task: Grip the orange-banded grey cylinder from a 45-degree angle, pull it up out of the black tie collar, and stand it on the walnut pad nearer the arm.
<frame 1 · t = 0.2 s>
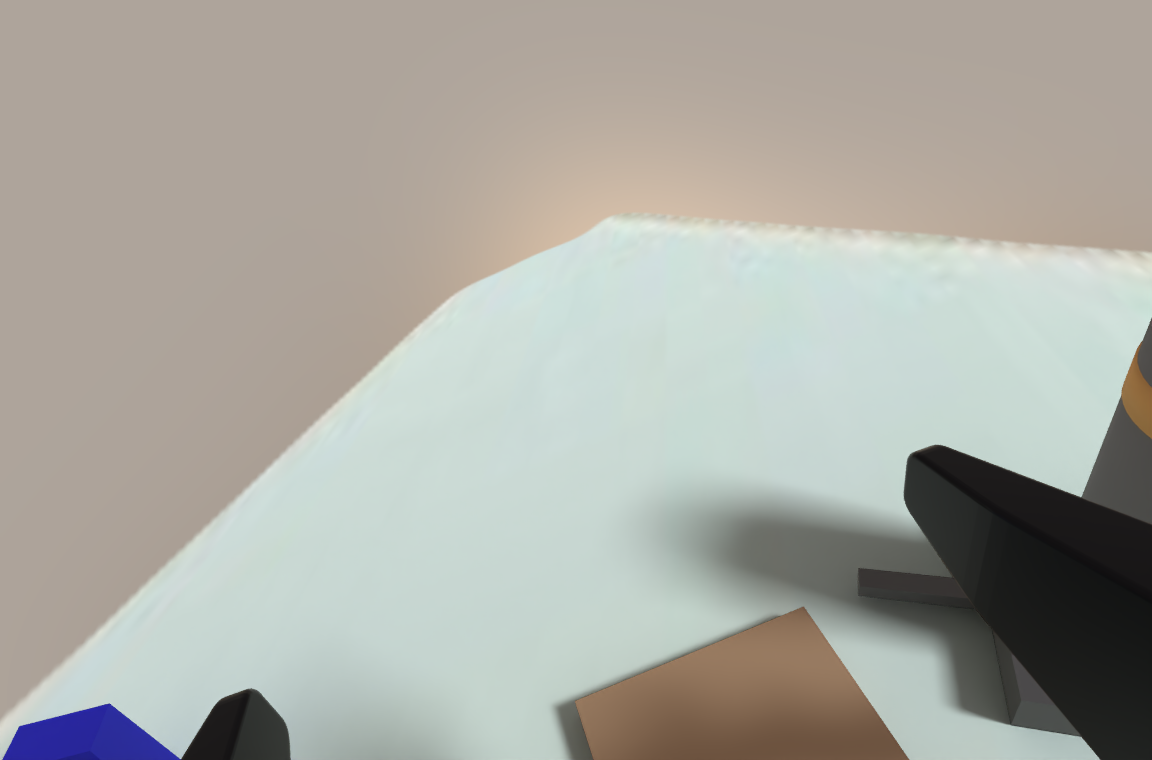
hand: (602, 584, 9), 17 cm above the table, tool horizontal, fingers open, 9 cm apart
orange-banded grey cylinder: (1125, 627, 23), resting in tie collar
tie collar: (1125, 626, 23), on the table
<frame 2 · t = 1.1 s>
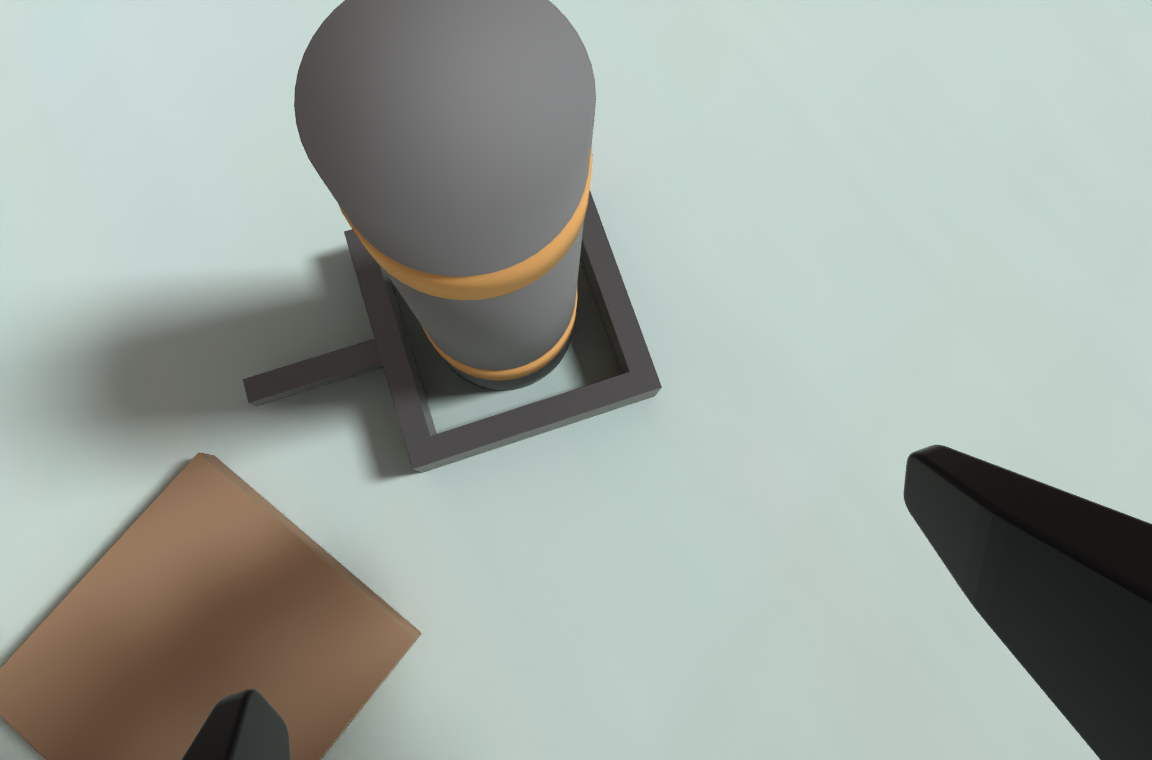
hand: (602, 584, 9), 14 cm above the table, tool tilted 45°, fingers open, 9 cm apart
orange-banded grey cylinder: (503, 322, 24), resting in tie collar
tie collar: (503, 322, 24), on the table
walnut pad: (216, 659, 21), on the table
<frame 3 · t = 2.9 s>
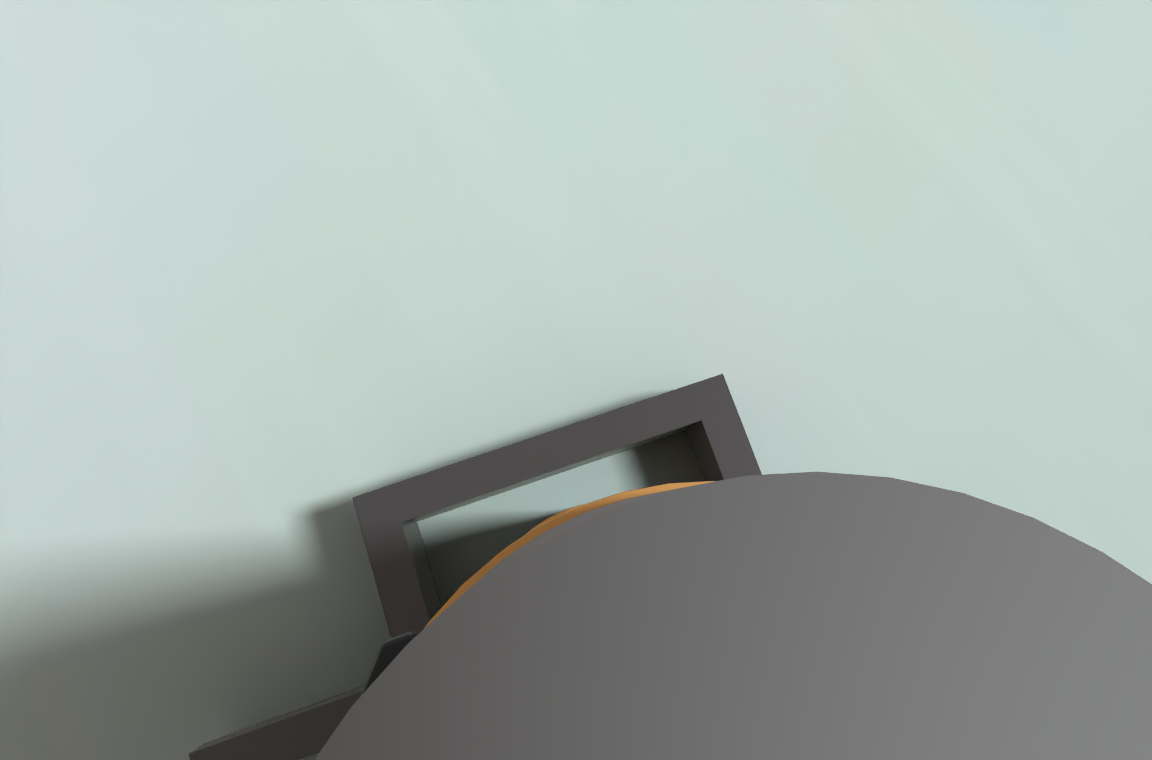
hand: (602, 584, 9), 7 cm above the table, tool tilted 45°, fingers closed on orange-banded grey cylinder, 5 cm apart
orange-banded grey cylinder: (600, 615, 15), resting in tie collar, touching gripper
tie collar: (601, 615, 15), on the table
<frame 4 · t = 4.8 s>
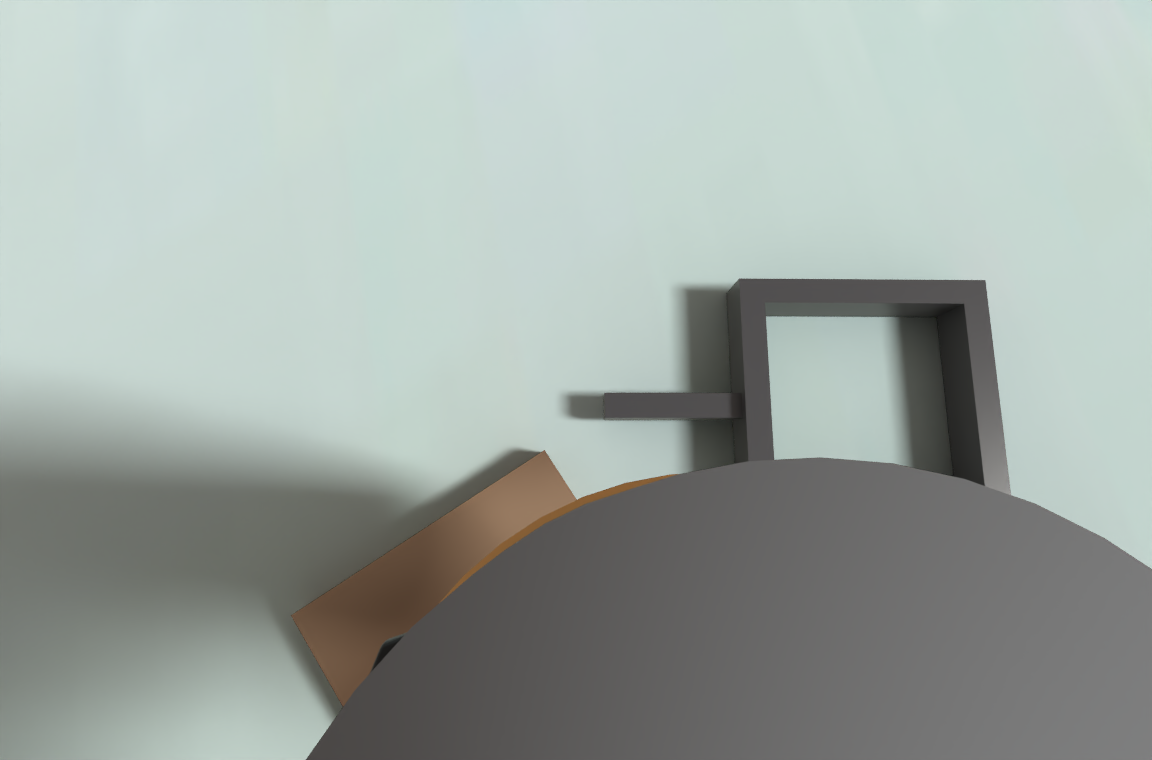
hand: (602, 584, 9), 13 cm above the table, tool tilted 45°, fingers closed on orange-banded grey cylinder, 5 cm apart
orange-banded grey cylinder: (601, 612, 15), point 7 cm above the table, touching gripper
tie collar: (851, 410, 23), on the table
walnut pad: (501, 652, 21), on the table
when the fingers open (8 cm above the table, at t = 6.4 s): orange-banded grey cylinder stays where it is, resting on walnut pad.
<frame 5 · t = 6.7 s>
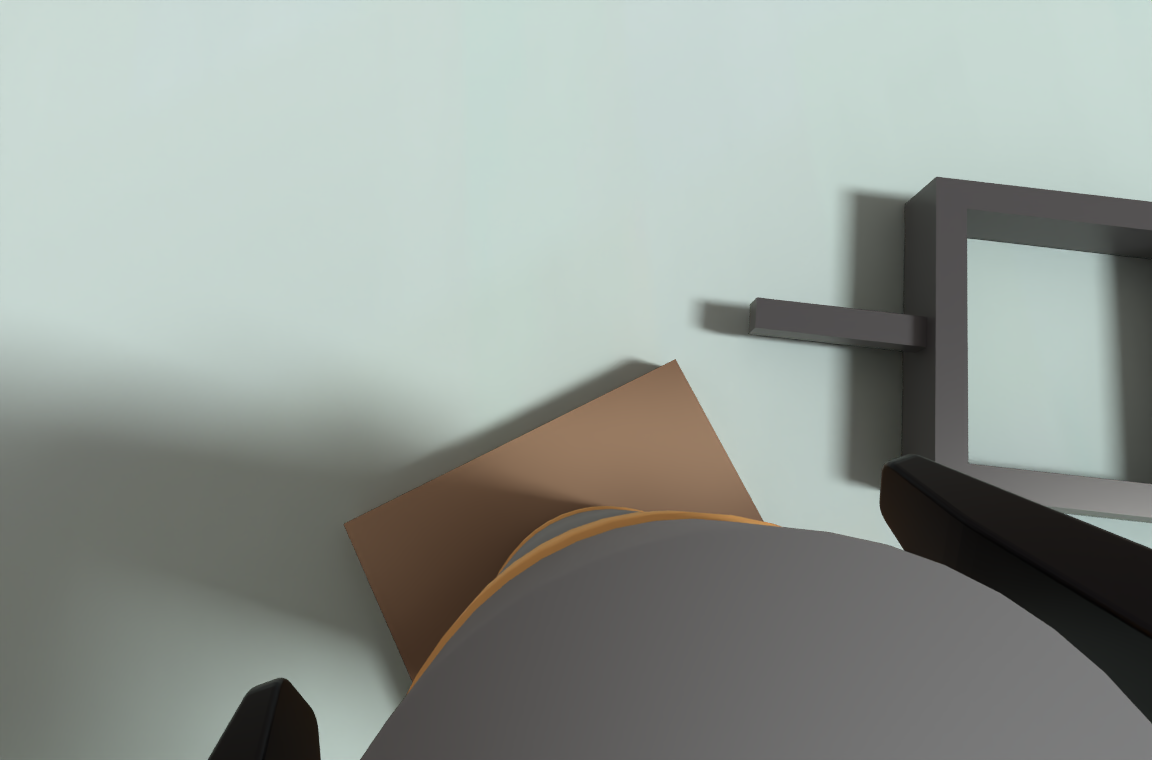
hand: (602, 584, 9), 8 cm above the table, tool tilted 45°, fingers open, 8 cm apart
orange-banded grey cylinder: (599, 612, 16), point 1 cm above the table, touching walnut pad
tie collar: (1051, 360, 19), on the table
walnut pad: (595, 604, 17), on the table
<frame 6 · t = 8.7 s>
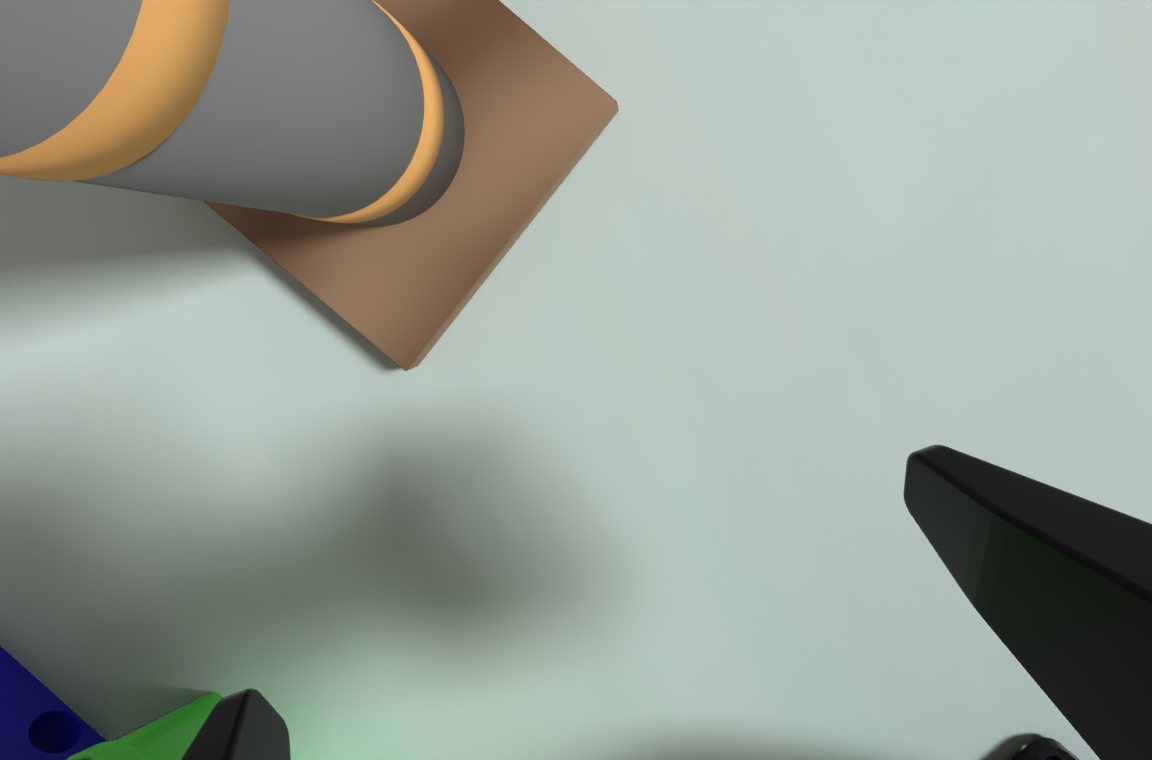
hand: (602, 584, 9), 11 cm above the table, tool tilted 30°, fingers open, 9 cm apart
orange-banded grey cylinder: (375, 132, 18), point 1 cm above the table, touching walnut pad
walnut pad: (388, 138, 19), on the table
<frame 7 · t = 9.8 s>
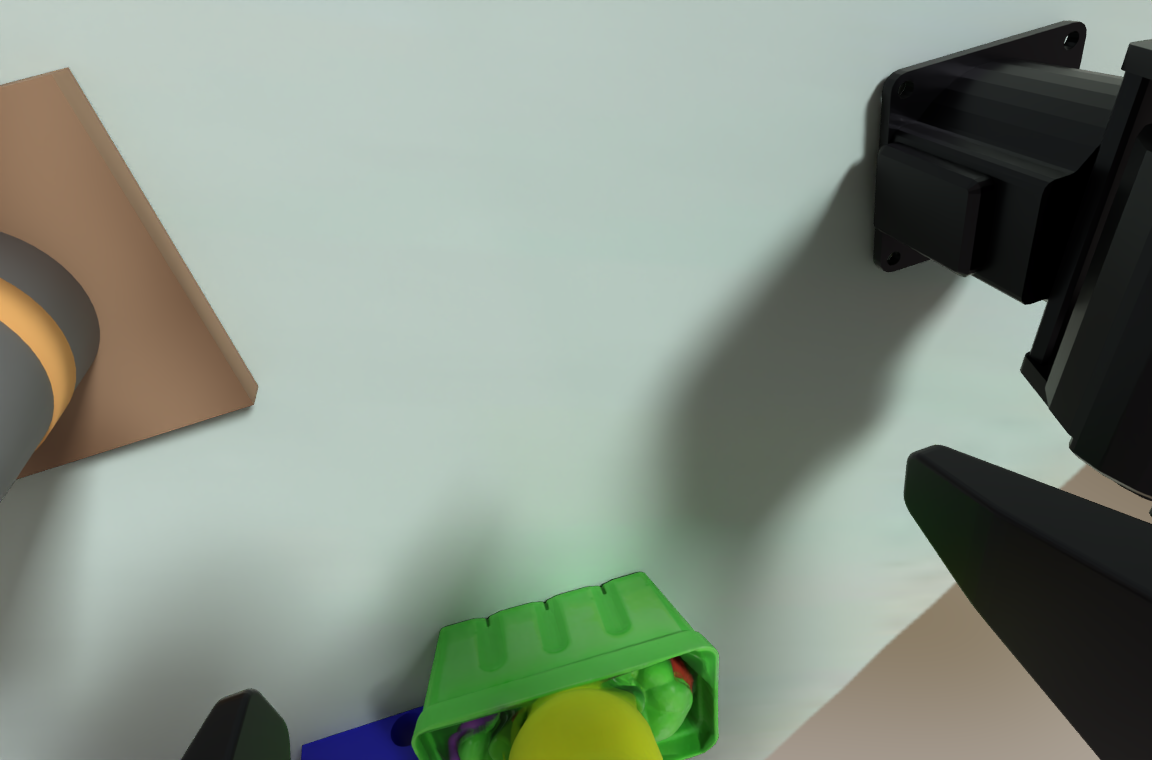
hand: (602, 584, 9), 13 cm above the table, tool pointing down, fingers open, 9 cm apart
fruit basket: (547, 621, 30), on the table
walnut pad: (0, 301, 17), on the table
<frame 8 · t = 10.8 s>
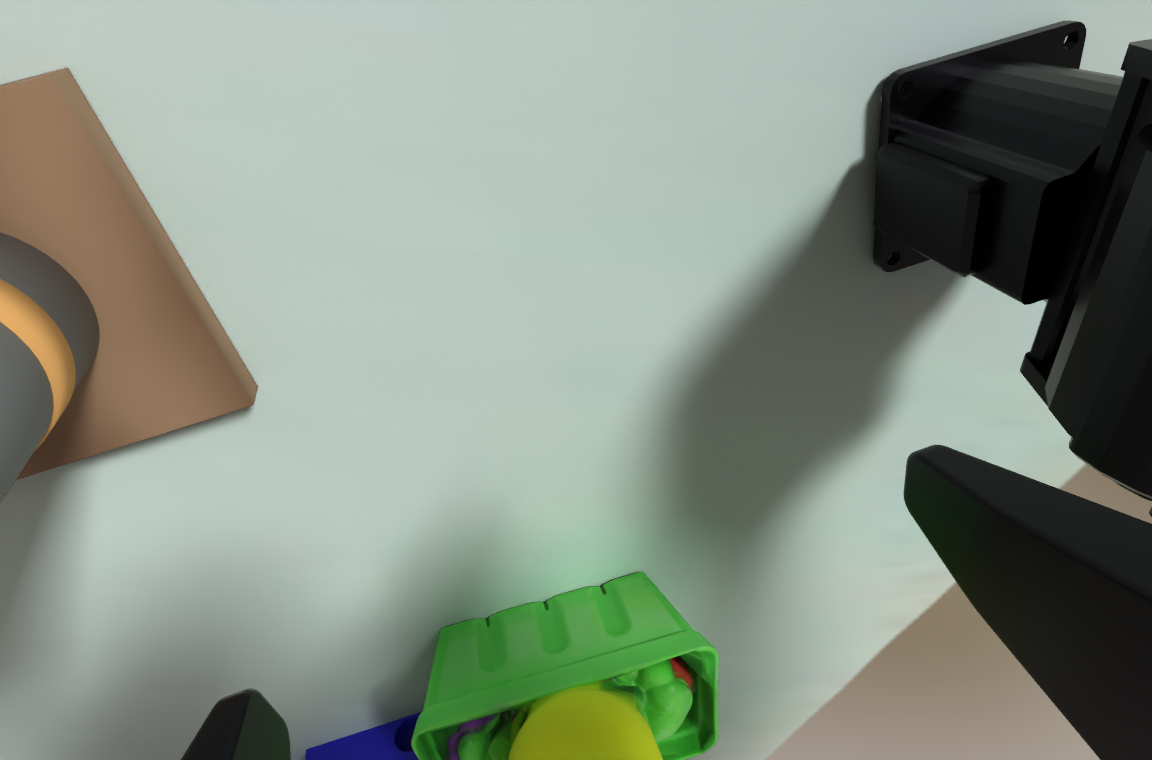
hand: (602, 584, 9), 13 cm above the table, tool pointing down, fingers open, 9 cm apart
fruit basket: (547, 622, 30), on the table
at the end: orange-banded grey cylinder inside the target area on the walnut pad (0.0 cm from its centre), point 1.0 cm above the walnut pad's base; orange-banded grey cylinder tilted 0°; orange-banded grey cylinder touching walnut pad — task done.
